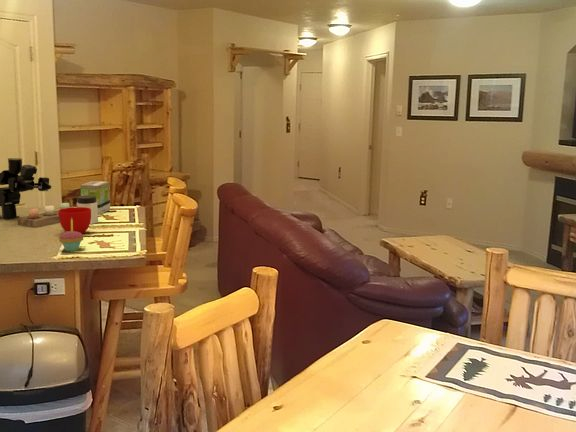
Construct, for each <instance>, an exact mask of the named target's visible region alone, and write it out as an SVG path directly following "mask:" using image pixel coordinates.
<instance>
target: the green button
mask: <svg viewBox="0 0 576 432" xmlns="http://www.w3.org/2000/svg"><path fill="white" fill-rule="evenodd" d="M59 205H60V209H64V208H71V206H70V203H69V202H61V203H60V204H59Z"/></svg>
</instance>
